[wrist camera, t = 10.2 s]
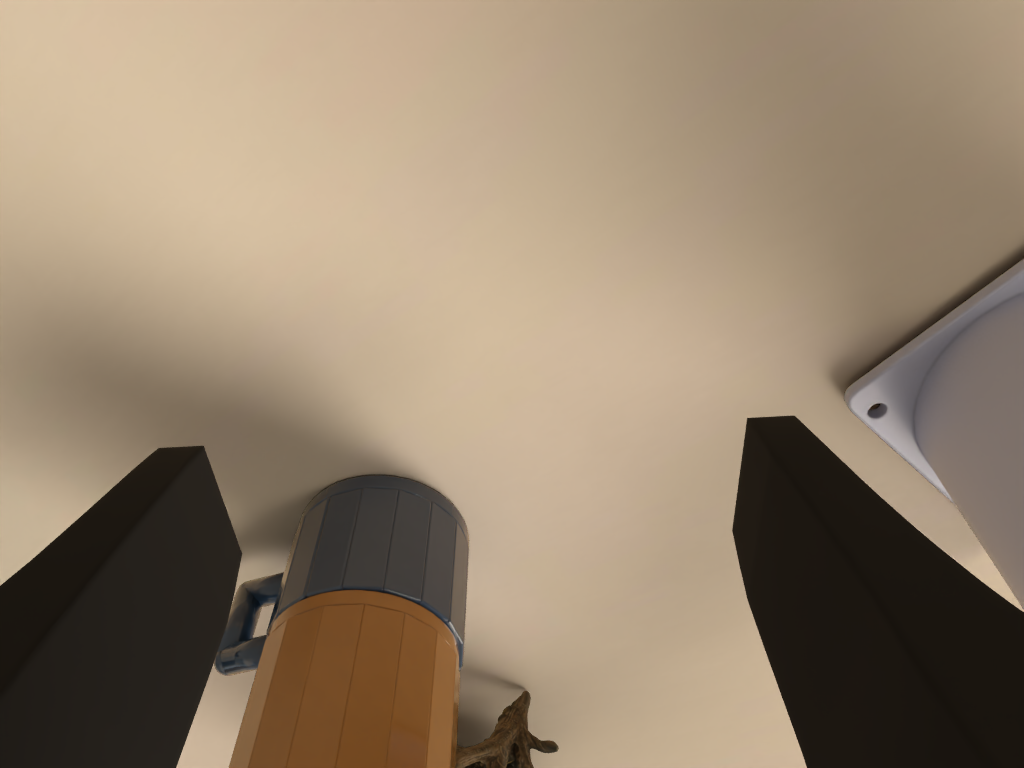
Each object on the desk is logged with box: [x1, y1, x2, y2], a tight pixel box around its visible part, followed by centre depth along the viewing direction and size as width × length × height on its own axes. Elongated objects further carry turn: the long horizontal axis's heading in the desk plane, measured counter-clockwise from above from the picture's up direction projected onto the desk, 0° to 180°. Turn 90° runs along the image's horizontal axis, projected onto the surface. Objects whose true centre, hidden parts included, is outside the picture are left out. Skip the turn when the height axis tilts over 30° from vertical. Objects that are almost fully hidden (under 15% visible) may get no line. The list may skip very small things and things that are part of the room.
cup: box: [214, 475, 469, 676], centre depth 25 cm, size 8×5×4 cm
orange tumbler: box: [229, 590, 460, 768], centre depth 20 cm, size 5×5×6 cm
